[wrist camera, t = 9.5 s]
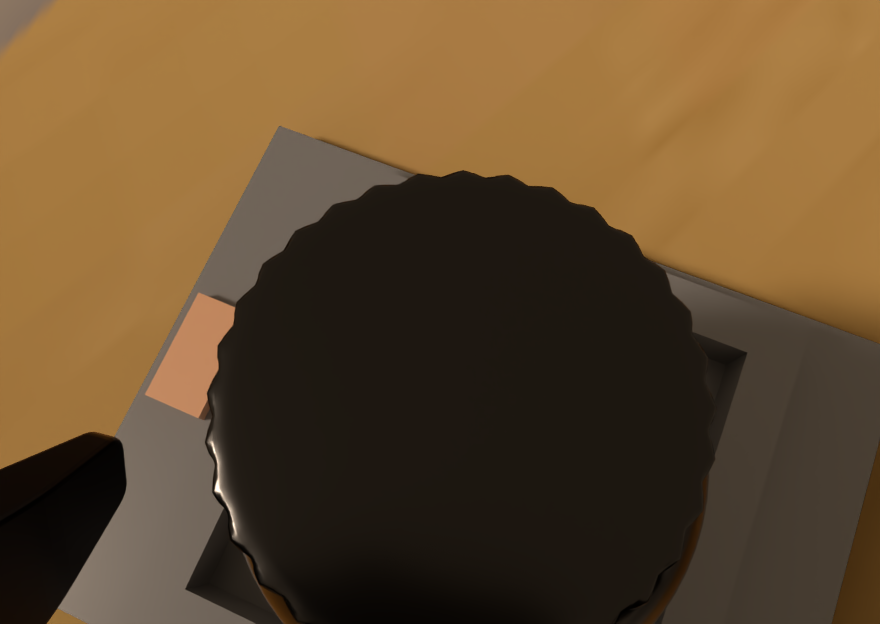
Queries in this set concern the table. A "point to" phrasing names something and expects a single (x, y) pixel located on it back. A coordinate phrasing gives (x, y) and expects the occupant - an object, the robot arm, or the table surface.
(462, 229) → the supplement bottle
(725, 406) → the grey recessed tray
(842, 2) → the table surface
